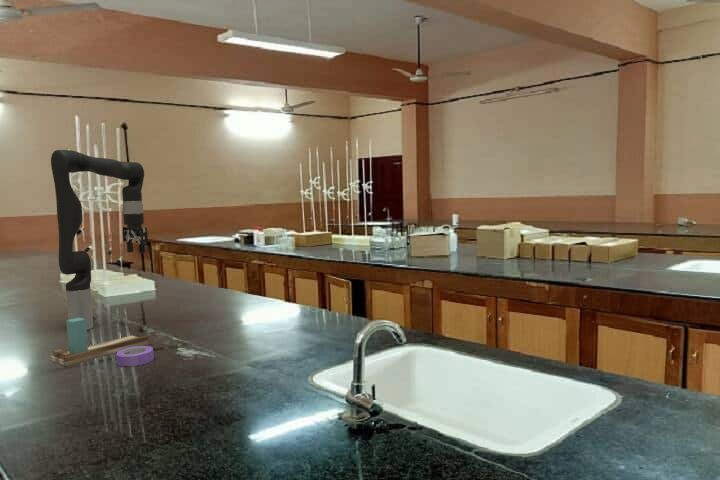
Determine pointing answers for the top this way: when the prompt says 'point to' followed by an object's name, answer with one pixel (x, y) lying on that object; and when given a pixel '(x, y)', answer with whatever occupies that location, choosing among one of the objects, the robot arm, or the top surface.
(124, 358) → the masking tape
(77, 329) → the block
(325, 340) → the top surface
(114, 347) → the board
